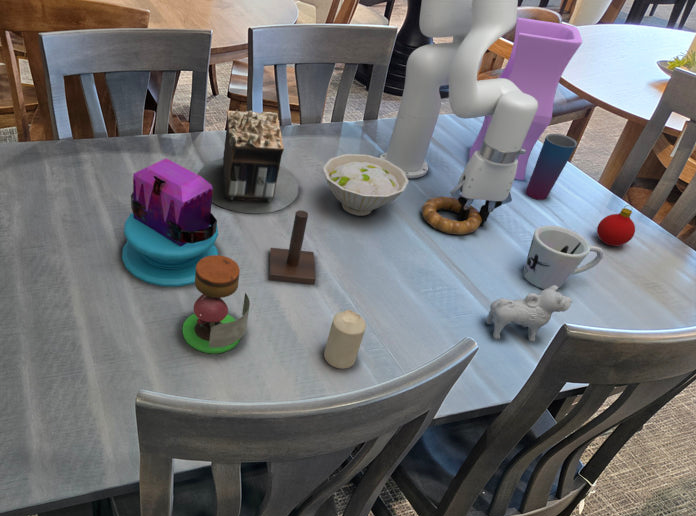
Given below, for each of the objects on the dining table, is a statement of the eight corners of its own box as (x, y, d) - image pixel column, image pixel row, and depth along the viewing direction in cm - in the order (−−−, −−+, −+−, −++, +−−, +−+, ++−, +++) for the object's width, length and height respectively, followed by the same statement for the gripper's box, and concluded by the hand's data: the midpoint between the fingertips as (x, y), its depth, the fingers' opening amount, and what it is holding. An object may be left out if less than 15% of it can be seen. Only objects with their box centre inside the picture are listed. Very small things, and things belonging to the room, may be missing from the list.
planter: (319, 195, 152) (334, 123, 140) (237, 225, 140) (245, 149, 128) (255, 151, 167) (263, 82, 155) (176, 174, 156) (179, 103, 144)
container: (469, 146, 176) (516, 16, 153) (521, 156, 173) (577, 26, 150) (468, 169, 166) (519, 34, 143) (524, 180, 163) (584, 44, 140)
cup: (553, 203, 155) (580, 148, 145) (524, 199, 155) (549, 144, 146) (547, 189, 160) (573, 135, 150) (519, 185, 160) (543, 131, 151)
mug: (508, 261, 135) (526, 223, 129) (577, 265, 135) (598, 227, 129) (526, 293, 127) (546, 254, 121) (599, 297, 127) (623, 259, 121)
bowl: (300, 205, 148) (307, 168, 141) (344, 177, 159) (352, 141, 153) (371, 241, 138) (382, 202, 132) (413, 208, 150) (425, 171, 143)
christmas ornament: (588, 243, 142) (609, 206, 136) (594, 229, 147) (615, 193, 140) (622, 256, 139) (645, 218, 133) (628, 241, 143) (650, 204, 137)
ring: (416, 202, 152) (419, 191, 150) (470, 208, 151) (475, 197, 149) (426, 233, 142) (430, 222, 140) (484, 239, 141) (489, 228, 139)
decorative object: (170, 300, 120) (173, 215, 107) (101, 254, 130) (97, 170, 117) (237, 256, 132) (247, 174, 119) (169, 217, 141) (172, 137, 129)
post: (269, 253, 133) (278, 198, 124) (312, 257, 133) (324, 203, 124) (269, 280, 126) (278, 224, 118) (314, 284, 126) (326, 229, 117)
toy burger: (166, 346, 111) (168, 281, 101) (195, 303, 120) (199, 240, 110) (228, 369, 107) (237, 303, 98) (253, 323, 116) (263, 259, 107)
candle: (320, 346, 113) (331, 305, 106) (350, 345, 113) (362, 304, 107) (327, 369, 108) (339, 328, 102) (358, 368, 109) (372, 327, 102)
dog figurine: (556, 343, 117) (582, 300, 110) (488, 339, 116) (510, 296, 109) (544, 323, 121) (569, 280, 114) (478, 319, 120) (499, 276, 113)
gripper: (532, 146, 137) (501, 216, 149) (456, 139, 137) (431, 210, 149) (544, 163, 131) (511, 235, 143) (463, 156, 132) (437, 228, 144)
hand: (470, 221), depth 146 cm, fingers closed on ring, 3 cm apart
